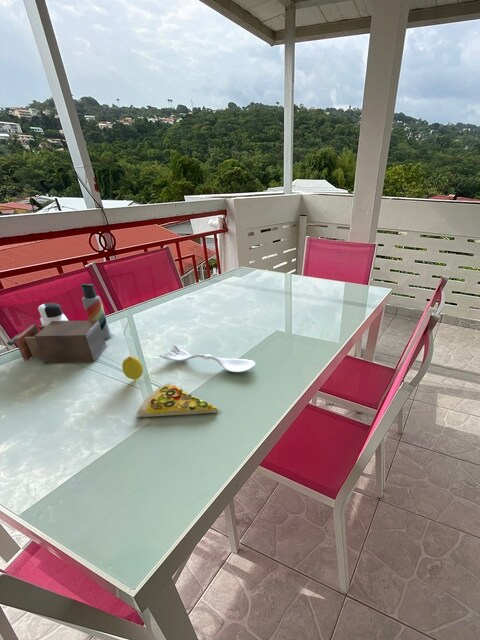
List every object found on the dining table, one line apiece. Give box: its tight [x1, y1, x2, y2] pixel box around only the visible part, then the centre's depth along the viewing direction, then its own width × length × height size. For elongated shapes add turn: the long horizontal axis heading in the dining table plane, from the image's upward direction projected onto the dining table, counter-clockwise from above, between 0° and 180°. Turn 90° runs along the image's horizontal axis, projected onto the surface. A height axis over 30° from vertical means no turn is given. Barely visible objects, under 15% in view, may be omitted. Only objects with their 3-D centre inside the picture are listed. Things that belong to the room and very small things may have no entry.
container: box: [37, 302, 69, 326], centre depth 119 cm, size 8×8×13 cm
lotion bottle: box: [80, 283, 112, 340], centre depth 120 cm, size 6×6×20 cm
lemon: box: [121, 355, 144, 381], centre depth 100 cm, size 6×6×8 cm
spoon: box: [158, 344, 256, 373], centre depth 111 cm, size 9×32×4 cm, turn 77°
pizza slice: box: [137, 382, 219, 418], centre depth 91 cm, size 16×21×3 cm
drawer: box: [6, 324, 46, 362], centre depth 109 cm, size 18×11×8 cm, turn 99°
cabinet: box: [34, 320, 107, 364], centre depth 111 cm, size 15×13×10 cm
